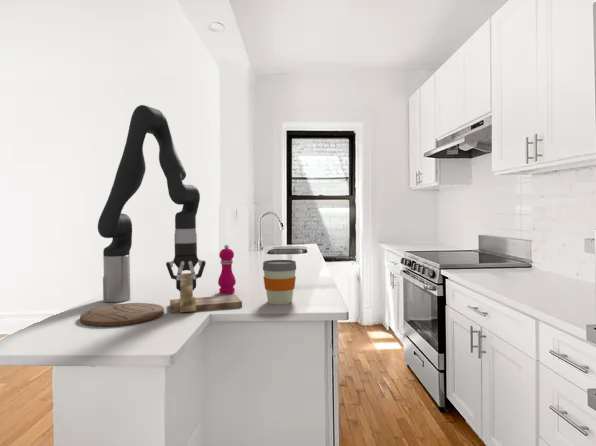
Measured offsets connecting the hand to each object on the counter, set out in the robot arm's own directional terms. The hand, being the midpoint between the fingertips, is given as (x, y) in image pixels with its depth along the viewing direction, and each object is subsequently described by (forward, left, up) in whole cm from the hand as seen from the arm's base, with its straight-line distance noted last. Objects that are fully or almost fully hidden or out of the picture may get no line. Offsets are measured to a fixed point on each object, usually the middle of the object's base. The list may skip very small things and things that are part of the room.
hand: (186, 289), depth 144 cm
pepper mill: (+18, +22, -6) cm, 29 cm away
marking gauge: (0, -2, -6) cm, 6 cm away
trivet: (-20, -5, -7) cm, 22 cm away
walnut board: (+7, 0, -6) cm, 9 cm away
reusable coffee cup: (+34, -2, -6) cm, 34 cm away
